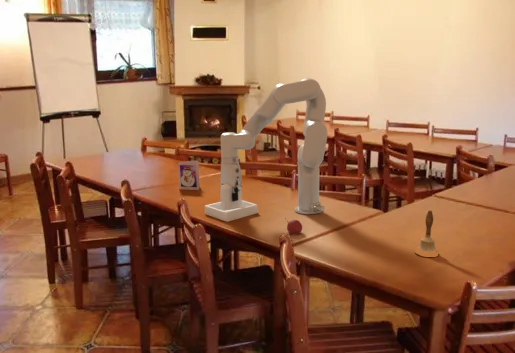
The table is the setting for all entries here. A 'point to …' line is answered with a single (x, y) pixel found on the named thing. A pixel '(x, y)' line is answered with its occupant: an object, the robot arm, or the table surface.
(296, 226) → the fruit
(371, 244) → the table surface
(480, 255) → the table surface
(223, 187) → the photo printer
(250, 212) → the box
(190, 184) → the greeting card
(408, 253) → the table surface
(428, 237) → the hand bell
